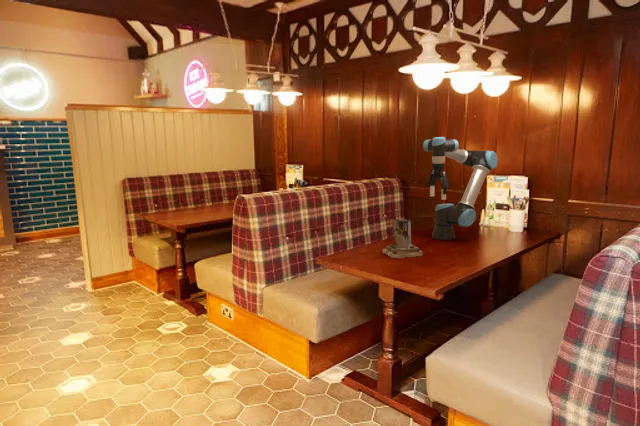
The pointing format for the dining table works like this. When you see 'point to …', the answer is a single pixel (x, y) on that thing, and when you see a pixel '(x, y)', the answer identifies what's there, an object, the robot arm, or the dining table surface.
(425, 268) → the dining table surface
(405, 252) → the shallow beige rectangular tray
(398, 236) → the coffee box
